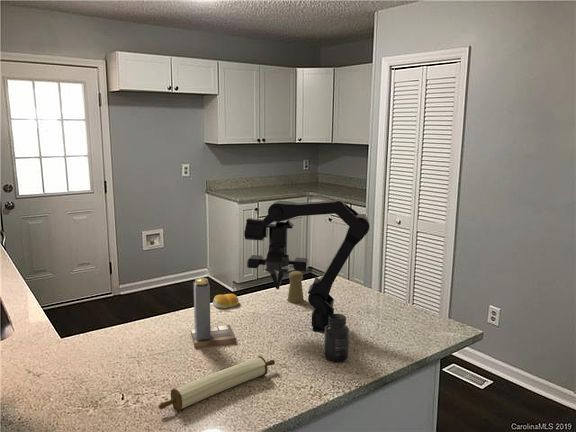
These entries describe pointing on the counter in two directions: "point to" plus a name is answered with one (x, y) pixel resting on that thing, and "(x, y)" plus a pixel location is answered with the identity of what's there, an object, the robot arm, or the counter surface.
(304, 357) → the counter surface
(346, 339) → the supplement bottle
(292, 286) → the cork
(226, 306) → the bread roll
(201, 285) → the grey square pillar
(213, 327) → the board
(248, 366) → the rolling pin
